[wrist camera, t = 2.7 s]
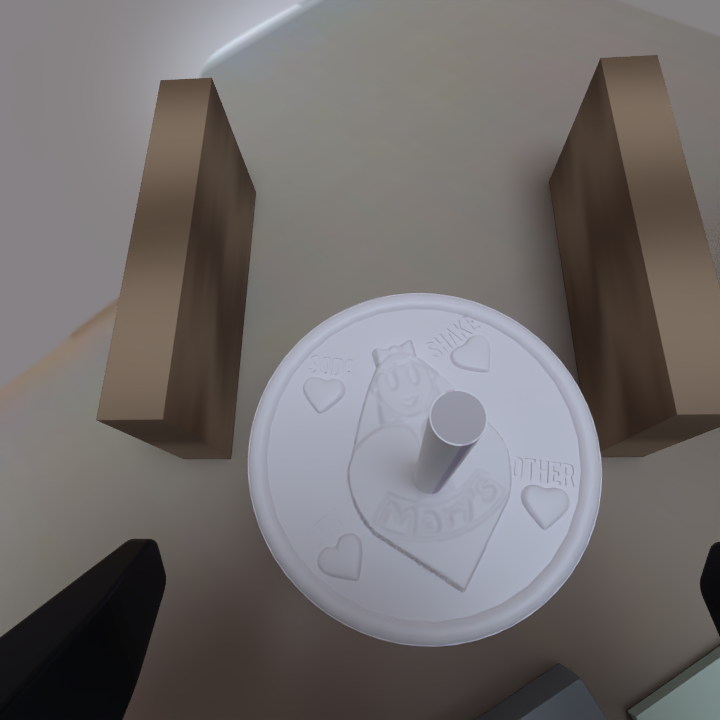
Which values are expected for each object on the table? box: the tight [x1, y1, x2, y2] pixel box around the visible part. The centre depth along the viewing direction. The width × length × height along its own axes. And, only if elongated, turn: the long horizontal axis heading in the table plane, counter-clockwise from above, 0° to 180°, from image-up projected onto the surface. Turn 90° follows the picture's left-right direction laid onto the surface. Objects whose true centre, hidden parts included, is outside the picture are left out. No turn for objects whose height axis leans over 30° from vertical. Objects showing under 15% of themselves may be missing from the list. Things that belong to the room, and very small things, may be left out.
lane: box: [96, 55, 720, 459], centre depth 18 cm, size 12×17×6 cm
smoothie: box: [248, 293, 602, 647], centre depth 12 cm, size 6×6×14 cm
